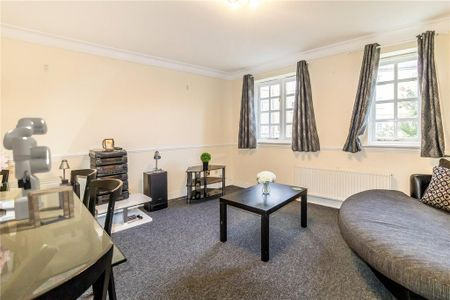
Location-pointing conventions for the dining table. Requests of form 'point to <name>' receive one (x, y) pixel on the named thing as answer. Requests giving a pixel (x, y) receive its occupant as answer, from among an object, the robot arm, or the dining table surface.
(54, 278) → the dining table surface
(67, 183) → the beige rectangular block
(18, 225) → the dining table surface
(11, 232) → the dining table surface
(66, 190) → the wooden display stand
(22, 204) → the photo printer
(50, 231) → the dining table surface
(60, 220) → the seat guides
